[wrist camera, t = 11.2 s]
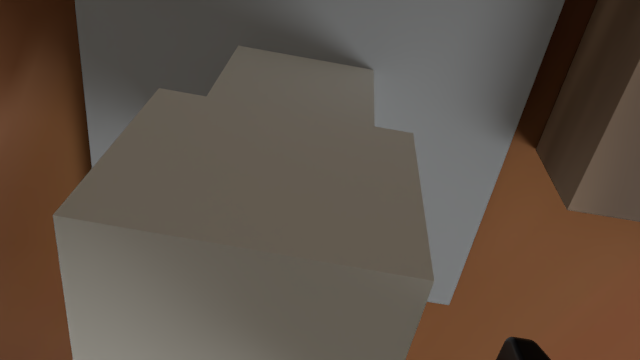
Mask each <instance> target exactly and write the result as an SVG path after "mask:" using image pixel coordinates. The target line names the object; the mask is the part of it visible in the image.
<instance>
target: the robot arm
mask: <svg viewBox="0 0 640 360" xmlns="http://www.w3.org/2000/svg"><path fill="white" fill-rule="evenodd" d="M496 360H551V359H550V358H549V357H548V356H547V355H546V354H545V352H544V351H543V350H542V349H541V348H540V347H539V346H538V344H537V343H535V342H534V341H532V340H529V339H523V338H517V337H509V338H508V339H506V341H505V342H504V344H503V346H502V348H501V350H500V353H499V355H498V357H497V359H496Z"/></svg>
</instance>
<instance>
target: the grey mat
mask: <svg viewBox="0 0 640 360" xmlns="http://www.w3.org/2000/svg"><path fill="white" fill-rule="evenodd" d="M564 2H565V0H75V9H76V18H77V28H78V38H79V47H80V57H81V67H82V77H83V86H84V96H85V106H86V115H87V125H88V135H89V144H90V154H91V164H92V168H93V167H94V165H95V164H96V163H97V162H98V161H99V159H100V158H101V157H102V156H103V155H104V153H105V152H106V151H107V150H108V149H109V147H110V146H111V145H112V144H113V143H114V141H115V140H116V139H117V138H118V137H119V135H120V134H121V133H122V132H123V131H124V129H125V128H126V127H127V126H128V125H129V123H130V122H131V121H132V120H133V119H134V117H135V116H136V115H137V114H138V113H139V111H140V110H141V109H142V108H143V107H144V105H145V104H146V103H147V102H148V101H149V99H150V98H151V97H152V96H153V95H154V93H155V92H156V91H157V90H158V89H159V88H162V89H167V90H173V91H178V92H184V93H190V94H195V95H201V96H207V95H208V93H209V91H210V90H211V88H212V87H213V85H214V83H215V82H216V80H217V79H218V77H219V76H220V74H221V72H222V71H223V69H224V68H225V66H226V64H227V63H228V61H229V60H230V58H231V56H232V55H233V53H234V52H235V50H236V48H237V47H238V46H243V47H249V48H255V49H260V50H266V51H271V52H277V53H282V54H288V55H294V56H299V57H305V58H310V59H316V60H321V61H327V62H333V63H338V64H344V65H349V66H355V67H360V68H366V69H372V70H374V126H376V127H381V128H387V129H392V130H398V131H404V132H409V133H413V136H414V143H415V150H416V157H417V164H418V170H419V177H420V184H421V191H422V198H423V205H424V212H425V219H426V226H427V233H428V240H429V247H430V254H431V261H432V268H433V275H434V283H433V286H432V289H431V291H430V294H429V297H428V300H427V302H433V303H439V304H446V305H449V304H450V301H451V298H452V296H453V293H454V291H455V288H456V285H457V283H458V280H459V277H460V275H461V272H462V270H463V267H464V264H465V262H466V259H467V256H468V254H469V251H470V249H471V246H472V243H473V241H474V238H475V235H476V233H477V230H478V228H479V225H480V222H481V220H482V217H483V214H484V212H485V209H486V207H487V204H488V201H489V199H490V196H491V193H492V191H493V188H494V186H495V183H496V180H497V178H498V175H499V172H500V170H501V167H502V165H503V162H504V159H505V157H506V154H507V151H508V149H509V146H510V144H511V141H512V138H513V136H514V133H515V130H516V128H517V125H518V123H519V120H520V117H521V115H522V112H523V109H524V107H525V104H526V101H527V99H528V96H529V94H530V91H531V88H532V86H533V83H534V80H535V78H536V75H537V73H538V70H539V67H540V65H541V62H542V59H543V57H544V54H545V52H546V49H547V46H548V44H549V41H550V38H551V36H552V33H553V31H554V28H555V25H556V23H557V20H558V17H559V15H560V12H561V10H562V7H563V4H564Z"/></svg>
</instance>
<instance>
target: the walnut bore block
mask: <svg viewBox="0 0 640 360" xmlns="http://www.w3.org/2000/svg"><path fill="white" fill-rule="evenodd" d="M536 151H537V153H538V155H539V157H540V159H541V161H542V163H543V165H544V167H545V169H546V171H547V172H548V174H549V176H550V178H551V180H552V182H553V184H554V186H555V188H556V190H557V191H558V193H559V195H560V197H561V199H562V201H563V203H564V205H565V207H566V209H567V210H571V211H577V212H583V213H589V214H595V215H602V216H608V217H614V218H620V219H626V220H632V221H638V222H640V0H597V3H596V5H595V8H594V10H593V12H592V15H591V17H590V20H589V22H588V25H587V27H586V29H585V32H584V34H583V37H582V39H581V42H580V44H579V46H578V49H577V51H576V54H575V56H574V58H573V61H572V63H571V66H570V68H569V71H568V73H567V75H566V78H565V80H564V83H563V85H562V88H561V90H560V92H559V95H558V97H557V100H556V102H555V104H554V107H553V109H552V112H551V114H550V117H549V119H548V121H547V124H546V126H545V129H544V131H543V134H542V136H541V138H540V141H539V143H538V146H537V148H536Z"/></svg>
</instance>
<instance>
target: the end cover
mask: <svg viewBox="0 0 640 360" xmlns="http://www.w3.org/2000/svg"><path fill="white" fill-rule="evenodd" d="M53 220H54V227H55V234H56V241H57V248H58V256H59V263H60V270H61V277H62V284H63V291H64V299H65V306H66V313H67V320H68V327H69V334H70V342H71V349H72V356H73V360H405V359H406V356H407V354H408V351H409V348H410V345H411V343H412V340H413V337H414V335H415V332H416V329H417V327H418V324H419V321H420V318H421V316H422V313H423V310H424V308H425V305H426V302H427V300H428V297H429V294H430V291H431V289H432V286H433V283H434V275H433V268H432V261H431V254H430V247H429V240H428V233H427V226H426V219H425V212H424V205H423V198H422V191H421V184H420V177H419V170H418V164H417V157H416V150H415V143H414V136H413V133H409V132H404V131H398V130H392V129H387V128H381V127H376V126H374V70H372V69H366V68H360V67H355V66H349V65H344V64H338V63H333V62H327V61H321V60H316V59H310V58H305V57H299V56H294V55H288V54H282V53H277V52H271V51H266V50H260V49H255V48H249V47H243V46H238V47H237V48H236V50H235V52H234V53H233V55H232V56H231V58H230V60H229V61H228V63H227V64H226V66H225V68H224V69H223V71H222V72H221V74H220V76H219V77H218V79H217V80H216V82H215V83H214V85H213V87H212V88H211V90H210V91H209V93H208V95H207V96H201V95H195V94H190V93H184V92H178V91H173V90H167V89H162V88H159V89H158V90H157V91H156V92H155V93H154V95H153V96H152V97H151V98H150V99H149V101H148V102H147V103H146V104H145V105H144V107H143V108H142V109H141V110H140V111H139V113H138V114H137V115H136V116H135V117H134V119H133V120H132V121H131V122H130V123H129V125H128V126H127V127H126V128H125V129H124V131H123V132H122V133H121V134H120V135H119V137H118V138H117V139H116V140H115V141H114V143H113V144H112V145H111V146H110V147H109V149H108V150H107V151H106V152H105V153H104V155H103V156H102V157H101V158H100V159H99V161H98V162H97V163H96V164H95V165H94V167H93V168H92V169H91V170H90V171H89V173H88V174H87V175H86V176H85V177H84V179H83V180H82V181H81V182H80V183H79V185H78V186H77V187H76V188H75V189H74V191H73V192H72V193H71V194H70V195H69V197H68V198H67V199H66V200H65V201H64V202H63V204H62V205H61V206H60V207H59V208H58V210H57V211H56V212H55V213H54V214H53Z"/></svg>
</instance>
